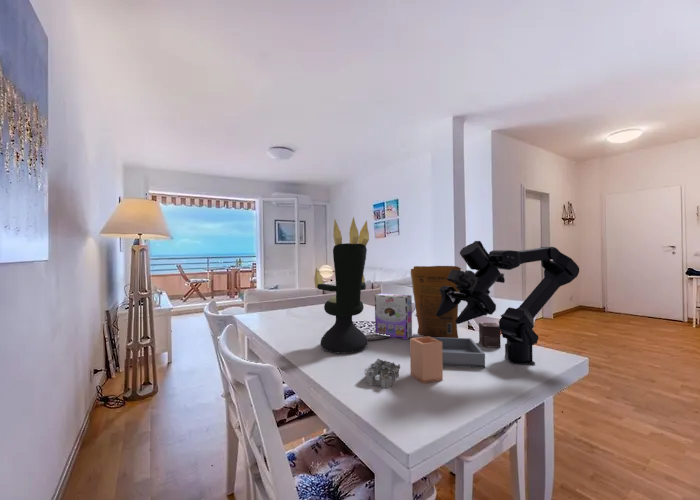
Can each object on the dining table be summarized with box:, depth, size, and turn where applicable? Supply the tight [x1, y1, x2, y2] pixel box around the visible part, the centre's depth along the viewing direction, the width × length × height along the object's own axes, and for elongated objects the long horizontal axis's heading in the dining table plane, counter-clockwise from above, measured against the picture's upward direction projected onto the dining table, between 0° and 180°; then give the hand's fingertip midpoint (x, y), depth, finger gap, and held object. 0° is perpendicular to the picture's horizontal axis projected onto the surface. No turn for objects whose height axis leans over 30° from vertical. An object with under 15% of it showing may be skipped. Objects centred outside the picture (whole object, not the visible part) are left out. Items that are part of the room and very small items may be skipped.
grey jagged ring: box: [363, 358, 401, 389], centre depth 83 cm, size 11×8×4 cm
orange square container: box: [409, 336, 444, 385], centre depth 83 cm, size 6×6×10 cm
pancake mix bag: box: [410, 265, 462, 338], centre depth 122 cm, size 7×19×28 cm, turn 55°
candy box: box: [374, 292, 413, 341], centre depth 124 cm, size 14×6×16 cm, turn 58°
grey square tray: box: [432, 337, 486, 369], centre depth 99 cm, size 16×16×4 cm
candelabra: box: [313, 216, 370, 354], centre depth 108 cm, size 19×22×45 cm
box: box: [478, 322, 501, 348], centre depth 112 cm, size 6×6×7 cm
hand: (446, 319), depth 87 cm, fingers open, 9 cm apart
